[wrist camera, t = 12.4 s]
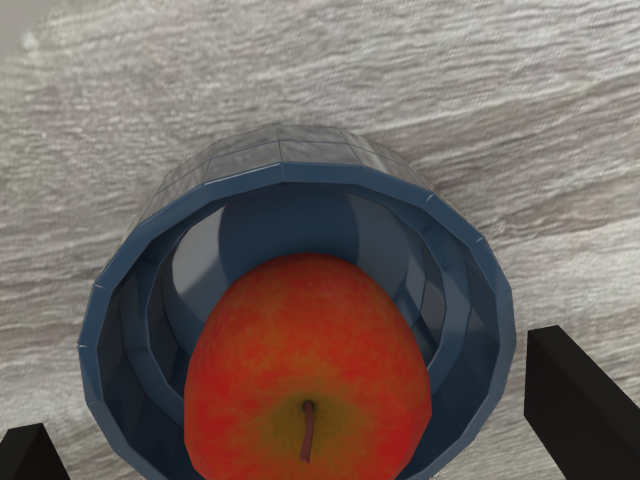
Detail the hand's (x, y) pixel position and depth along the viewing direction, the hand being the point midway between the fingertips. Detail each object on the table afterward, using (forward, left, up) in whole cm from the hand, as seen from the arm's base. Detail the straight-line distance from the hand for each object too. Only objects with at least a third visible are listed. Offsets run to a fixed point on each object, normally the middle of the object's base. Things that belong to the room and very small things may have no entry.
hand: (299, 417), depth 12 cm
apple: (0, 0, -6) cm, 6 cm away
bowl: (0, 0, -7) cm, 7 cm away
